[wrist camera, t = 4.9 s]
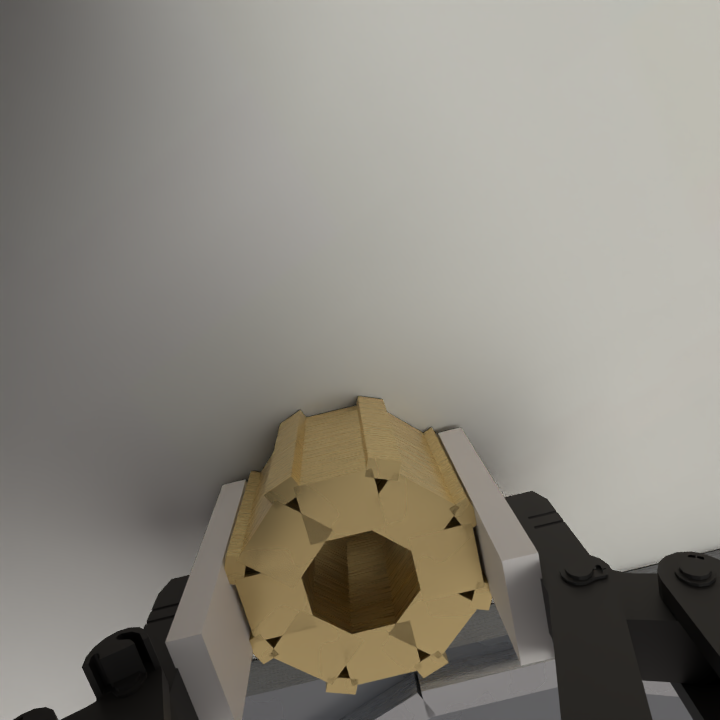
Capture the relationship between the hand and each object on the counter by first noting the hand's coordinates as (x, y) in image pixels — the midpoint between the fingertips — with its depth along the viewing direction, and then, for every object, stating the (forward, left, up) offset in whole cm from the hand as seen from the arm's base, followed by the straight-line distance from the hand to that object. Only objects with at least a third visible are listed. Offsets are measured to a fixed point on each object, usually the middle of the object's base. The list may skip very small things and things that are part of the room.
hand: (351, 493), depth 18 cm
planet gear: (0, 0, 0) cm, 0 cm away
